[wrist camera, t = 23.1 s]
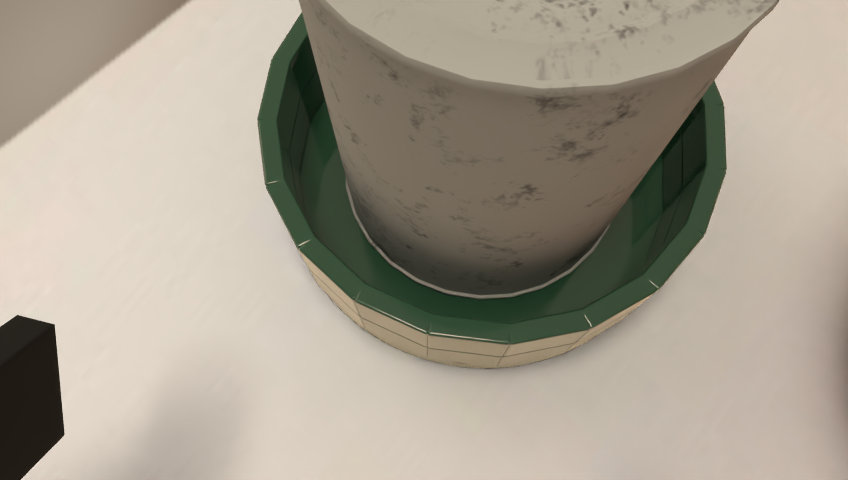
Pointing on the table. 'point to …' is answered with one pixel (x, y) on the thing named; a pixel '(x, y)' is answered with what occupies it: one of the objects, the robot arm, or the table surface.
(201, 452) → the table surface
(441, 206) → the dirty tin can
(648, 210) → the green bowl
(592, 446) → the table surface
